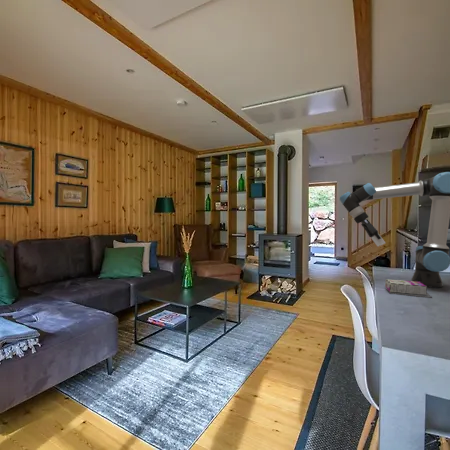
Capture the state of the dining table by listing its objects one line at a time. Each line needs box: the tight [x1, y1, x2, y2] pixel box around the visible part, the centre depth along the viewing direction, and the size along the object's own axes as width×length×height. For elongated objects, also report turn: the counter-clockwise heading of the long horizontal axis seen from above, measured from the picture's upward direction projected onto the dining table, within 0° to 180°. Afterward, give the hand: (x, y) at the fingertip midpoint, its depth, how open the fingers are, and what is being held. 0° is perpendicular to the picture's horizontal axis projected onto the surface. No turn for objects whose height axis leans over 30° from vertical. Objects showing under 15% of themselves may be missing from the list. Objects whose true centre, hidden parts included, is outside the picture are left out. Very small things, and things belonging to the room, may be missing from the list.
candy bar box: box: [384, 278, 428, 295], centre depth 147 cm, size 11×5×16 cm
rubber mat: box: [386, 288, 433, 299], centre depth 148 cm, size 18×16×1 cm
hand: (381, 244), depth 163 cm, fingers open, 13 cm apart
